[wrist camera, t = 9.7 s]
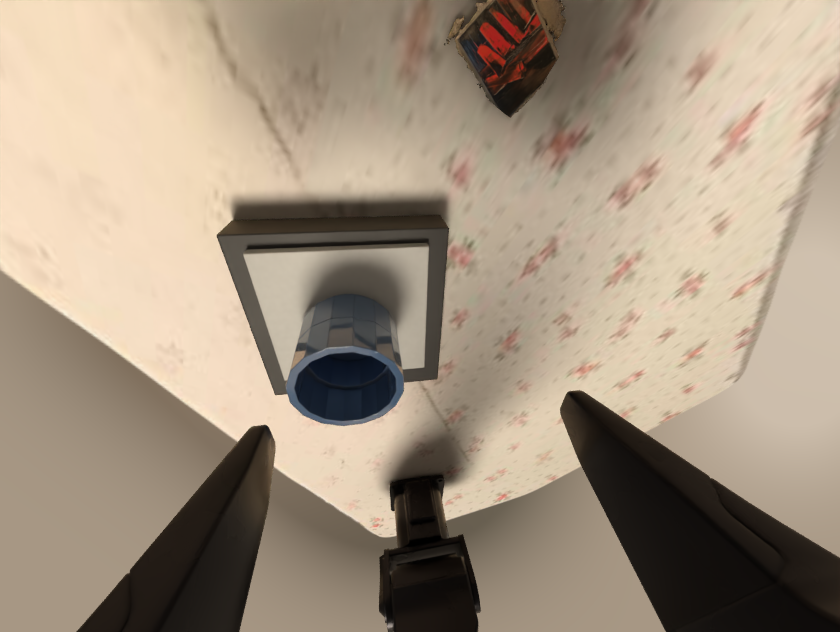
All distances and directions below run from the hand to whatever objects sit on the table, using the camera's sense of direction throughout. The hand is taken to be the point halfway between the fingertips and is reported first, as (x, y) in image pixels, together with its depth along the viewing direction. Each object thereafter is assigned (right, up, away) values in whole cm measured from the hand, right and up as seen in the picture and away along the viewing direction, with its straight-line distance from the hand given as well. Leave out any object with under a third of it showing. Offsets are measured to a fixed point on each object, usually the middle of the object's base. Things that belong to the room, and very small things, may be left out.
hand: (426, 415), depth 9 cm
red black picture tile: (+4, +16, +6) cm, 18 cm away
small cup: (-4, +2, +10) cm, 11 cm away
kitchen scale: (-5, +4, +12) cm, 14 cm away
